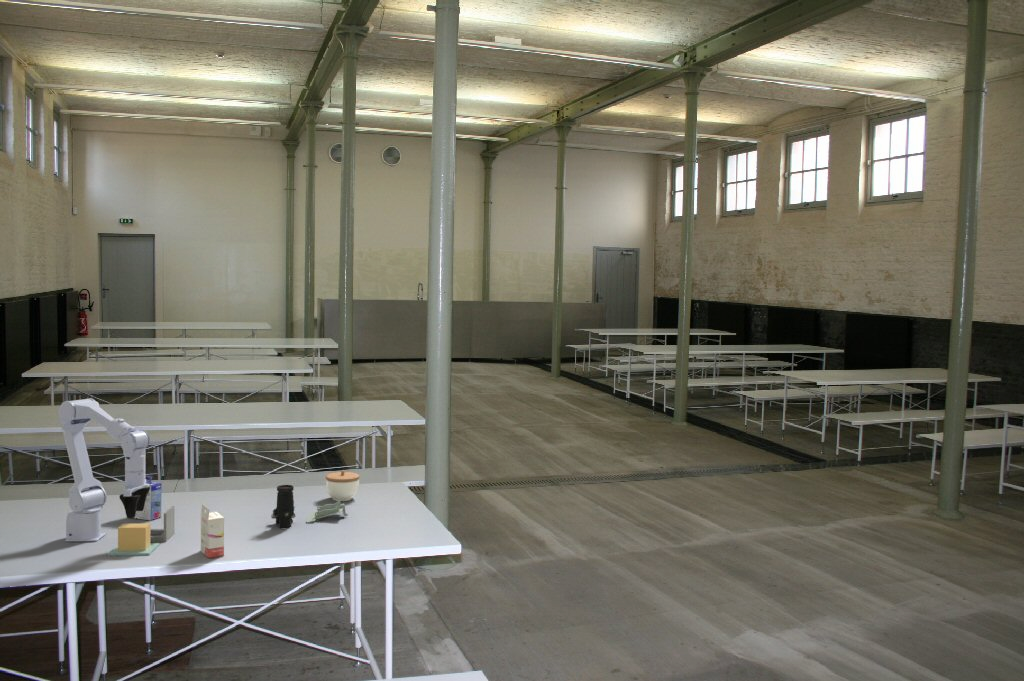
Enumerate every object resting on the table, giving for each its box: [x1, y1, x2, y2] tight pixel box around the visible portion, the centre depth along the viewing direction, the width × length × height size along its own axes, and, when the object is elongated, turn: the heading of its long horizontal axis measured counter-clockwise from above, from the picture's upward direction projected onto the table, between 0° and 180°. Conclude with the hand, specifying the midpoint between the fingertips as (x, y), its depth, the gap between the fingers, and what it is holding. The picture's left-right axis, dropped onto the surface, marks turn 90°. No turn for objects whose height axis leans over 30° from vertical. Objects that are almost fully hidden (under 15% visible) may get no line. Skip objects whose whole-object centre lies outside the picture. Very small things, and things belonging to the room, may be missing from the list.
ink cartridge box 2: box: [200, 503, 225, 559], centre depth 256 cm, size 9×5×15 cm, turn 35°
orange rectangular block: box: [117, 522, 151, 551], centre depth 257 cm, size 8×4×7 cm, turn 96°
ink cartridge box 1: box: [133, 474, 162, 521], centre depth 293 cm, size 10×6×14 cm, turn 71°
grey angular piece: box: [150, 505, 175, 543], centre depth 270 cm, size 13×9×9 cm
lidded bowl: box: [325, 469, 360, 502], centre depth 325 cm, size 13×13×11 cm
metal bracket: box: [306, 501, 349, 524], centre depth 299 cm, size 14×6×15 cm
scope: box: [270, 484, 296, 529], centre depth 287 cm, size 8×14×10 cm
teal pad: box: [107, 542, 161, 557], centre depth 258 cm, size 12×10×1 cm
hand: (135, 514), depth 260 cm, fingers open, 7 cm apart
